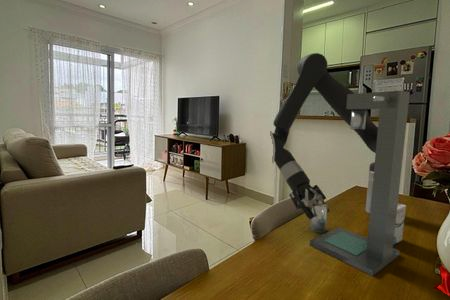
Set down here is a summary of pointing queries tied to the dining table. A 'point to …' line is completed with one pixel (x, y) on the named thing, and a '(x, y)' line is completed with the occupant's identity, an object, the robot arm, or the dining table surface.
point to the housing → (319, 217)
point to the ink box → (399, 223)
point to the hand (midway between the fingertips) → (320, 215)
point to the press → (375, 185)
